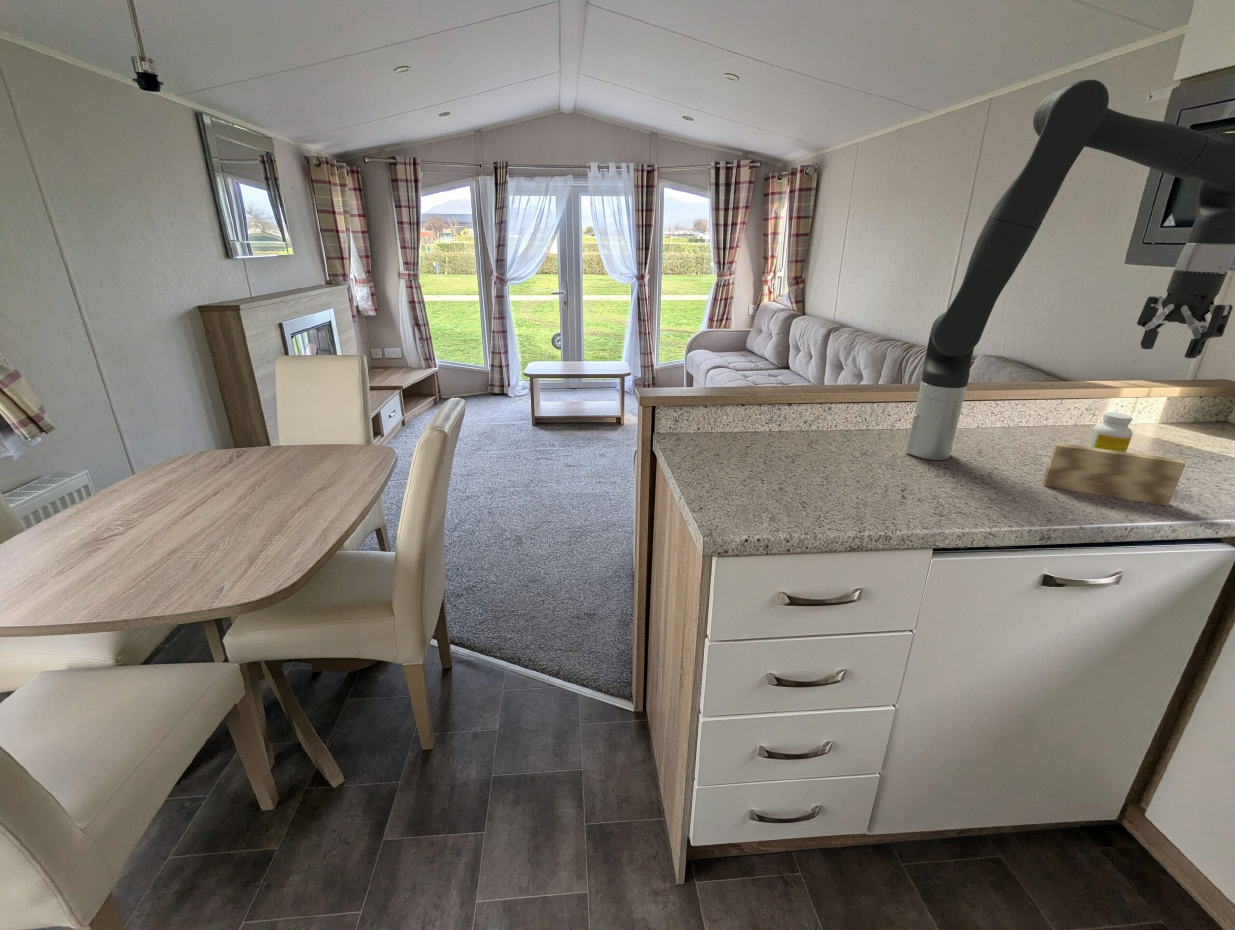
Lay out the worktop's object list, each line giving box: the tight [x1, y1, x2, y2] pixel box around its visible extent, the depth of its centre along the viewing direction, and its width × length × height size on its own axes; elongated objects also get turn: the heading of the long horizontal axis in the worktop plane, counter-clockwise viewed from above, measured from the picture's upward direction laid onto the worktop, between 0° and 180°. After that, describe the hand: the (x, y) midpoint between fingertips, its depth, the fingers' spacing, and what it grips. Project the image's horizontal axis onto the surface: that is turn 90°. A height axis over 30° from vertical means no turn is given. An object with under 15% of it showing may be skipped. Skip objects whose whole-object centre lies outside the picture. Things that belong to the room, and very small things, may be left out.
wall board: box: [1042, 442, 1187, 507], centre depth 116 cm, size 20×6×9 cm, turn 62°
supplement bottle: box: [1086, 411, 1133, 452], centre depth 125 cm, size 7×7×13 cm
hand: (1167, 353), depth 116 cm, fingers open, 8 cm apart
